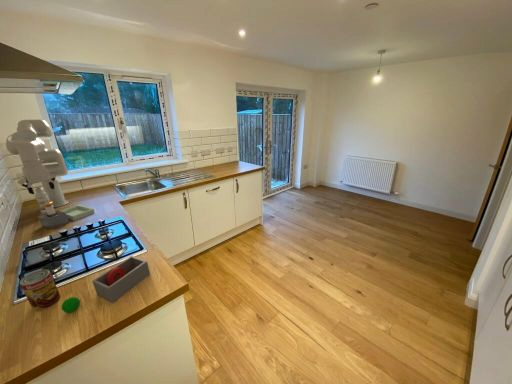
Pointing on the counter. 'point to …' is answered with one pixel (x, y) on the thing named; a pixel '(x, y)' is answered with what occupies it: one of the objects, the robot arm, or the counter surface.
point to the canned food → (40, 289)
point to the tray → (78, 212)
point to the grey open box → (122, 279)
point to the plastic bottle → (41, 199)
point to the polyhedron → (70, 304)
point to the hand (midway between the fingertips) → (42, 191)
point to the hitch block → (53, 220)
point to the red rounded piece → (111, 274)
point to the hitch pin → (49, 208)
